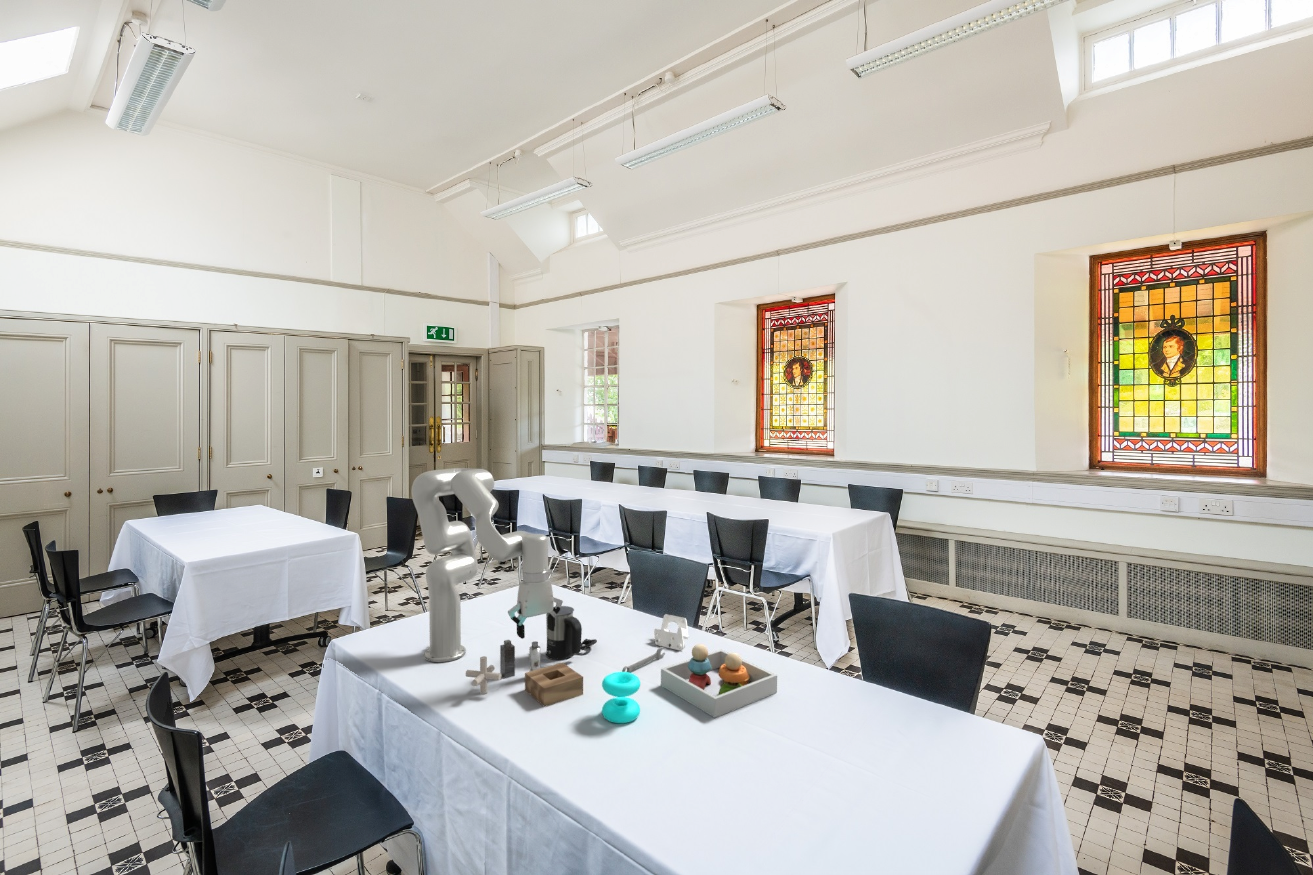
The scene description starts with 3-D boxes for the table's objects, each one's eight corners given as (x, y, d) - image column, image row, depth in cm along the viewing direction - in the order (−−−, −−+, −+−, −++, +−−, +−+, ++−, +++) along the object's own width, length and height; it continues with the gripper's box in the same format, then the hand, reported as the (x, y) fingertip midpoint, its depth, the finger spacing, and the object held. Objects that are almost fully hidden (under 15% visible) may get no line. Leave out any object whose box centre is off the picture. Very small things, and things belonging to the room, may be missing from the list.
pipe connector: (491, 702, 164) (491, 666, 164) (458, 698, 166) (457, 663, 166) (507, 686, 174) (507, 652, 173) (476, 683, 176) (475, 649, 175)
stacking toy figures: (756, 680, 180) (756, 638, 180) (743, 706, 164) (744, 661, 163) (698, 670, 186) (698, 630, 186) (680, 694, 170) (681, 651, 170)
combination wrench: (624, 667, 180) (666, 646, 196) (620, 666, 181) (663, 645, 196) (624, 679, 181) (666, 657, 196) (620, 678, 182) (663, 656, 197)
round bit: (527, 676, 180) (527, 642, 180) (537, 673, 182) (537, 639, 182) (532, 680, 178) (532, 645, 177) (542, 677, 180) (542, 642, 179)
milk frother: (539, 657, 195) (539, 612, 194) (565, 640, 209) (565, 598, 208) (578, 665, 189) (578, 618, 188) (601, 647, 204) (602, 603, 203)
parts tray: (660, 685, 176) (661, 668, 175) (720, 665, 190) (721, 649, 190) (715, 717, 157) (715, 698, 157) (776, 692, 172) (777, 675, 172)
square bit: (500, 674, 182) (500, 640, 181) (510, 672, 183) (510, 638, 183) (504, 678, 179) (504, 643, 178) (514, 675, 181) (514, 641, 180)
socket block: (524, 690, 172) (524, 672, 171) (562, 679, 179) (562, 662, 179) (544, 706, 162) (544, 688, 162) (583, 694, 169) (583, 676, 169)
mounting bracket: (689, 652, 205) (695, 620, 208) (681, 650, 200) (687, 617, 203) (658, 645, 211) (665, 614, 214) (650, 643, 206) (657, 611, 209)
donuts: (646, 682, 155) (609, 689, 151) (645, 720, 155) (609, 728, 151) (632, 667, 164) (597, 673, 160) (632, 703, 165) (596, 710, 161)
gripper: (555, 569, 187) (556, 623, 188) (502, 578, 176) (503, 636, 177) (567, 574, 181) (568, 630, 182) (513, 584, 170) (514, 644, 171)
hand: (536, 633), depth 179 cm, fingers open, 9 cm apart
